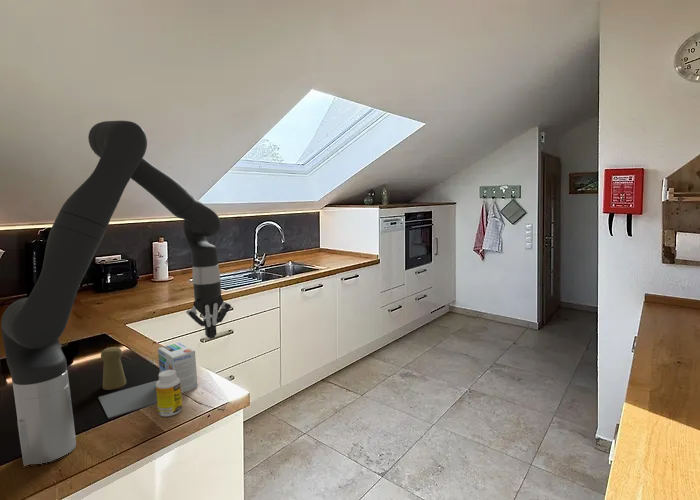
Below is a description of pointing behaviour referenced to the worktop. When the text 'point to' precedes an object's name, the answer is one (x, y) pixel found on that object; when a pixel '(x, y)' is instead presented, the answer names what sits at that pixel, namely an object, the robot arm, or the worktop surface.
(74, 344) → the worktop surface
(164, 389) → the supplement bottle
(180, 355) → the light bulb box
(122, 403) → the mat
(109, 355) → the cork
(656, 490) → the worktop surface
